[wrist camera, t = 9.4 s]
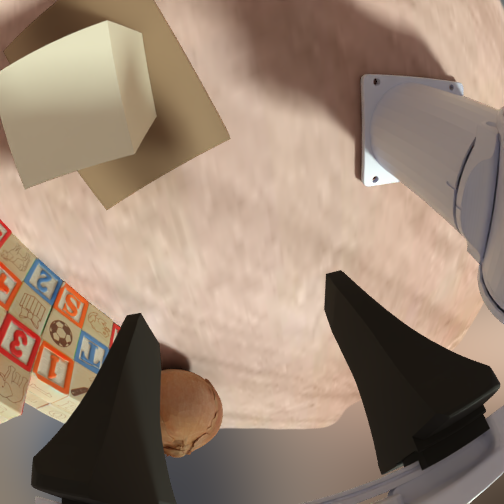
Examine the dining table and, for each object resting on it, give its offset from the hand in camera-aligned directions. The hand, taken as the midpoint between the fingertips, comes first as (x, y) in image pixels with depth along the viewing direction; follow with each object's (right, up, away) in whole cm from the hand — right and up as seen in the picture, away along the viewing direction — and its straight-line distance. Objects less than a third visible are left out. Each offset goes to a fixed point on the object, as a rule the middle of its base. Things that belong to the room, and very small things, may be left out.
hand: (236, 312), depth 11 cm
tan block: (-7, +12, +3) cm, 14 cm away
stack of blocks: (-18, 0, +9) cm, 20 cm away
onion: (-8, -11, +19) cm, 23 cm away
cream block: (-7, +10, 0) cm, 12 cm away
